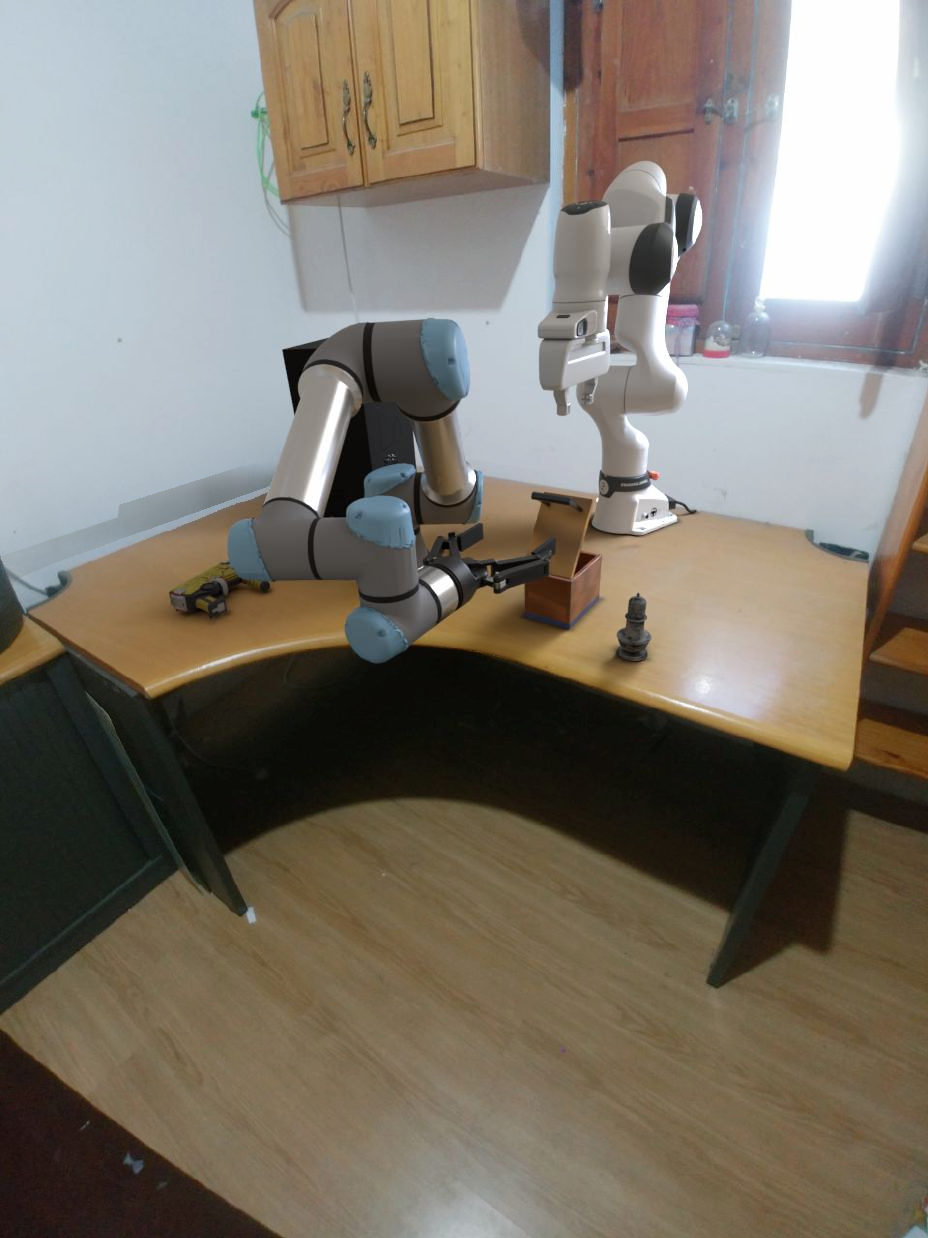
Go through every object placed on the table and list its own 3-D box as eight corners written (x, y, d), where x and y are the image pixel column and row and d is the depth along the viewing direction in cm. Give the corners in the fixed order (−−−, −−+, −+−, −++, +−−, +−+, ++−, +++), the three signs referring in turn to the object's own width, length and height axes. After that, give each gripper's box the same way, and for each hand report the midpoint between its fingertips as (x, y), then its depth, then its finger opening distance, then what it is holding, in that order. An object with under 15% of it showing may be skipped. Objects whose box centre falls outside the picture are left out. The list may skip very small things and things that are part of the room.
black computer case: (378, 519, 171) (356, 347, 149) (313, 517, 176) (282, 349, 153) (417, 479, 203) (403, 331, 180) (361, 478, 207) (341, 334, 185)
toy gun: (291, 561, 141) (237, 550, 145) (223, 605, 121) (163, 591, 125) (293, 579, 143) (240, 568, 147) (226, 625, 123) (167, 611, 127)
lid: (546, 493, 114) (529, 480, 107) (594, 500, 109) (579, 488, 102) (525, 568, 115) (507, 561, 108) (572, 579, 110) (556, 572, 103)
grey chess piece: (650, 663, 103) (658, 601, 97) (615, 660, 105) (620, 600, 99) (648, 644, 108) (655, 585, 102) (614, 642, 110) (620, 583, 104)
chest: (556, 588, 129) (557, 545, 124) (599, 599, 124) (602, 554, 119) (524, 616, 120) (524, 570, 115) (569, 629, 115) (571, 582, 110)
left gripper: (375, 593, 92) (455, 544, 107) (516, 636, 79) (585, 574, 94) (368, 548, 88) (452, 504, 103) (516, 585, 75) (588, 529, 90)
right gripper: (588, 315, 107) (584, 397, 114) (531, 327, 92) (531, 419, 99) (622, 315, 104) (615, 399, 110) (569, 327, 89) (566, 423, 96)
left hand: (516, 537), depth 98 cm, fingers open, 13 cm apart
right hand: (575, 409), depth 105 cm, fingers open, 8 cm apart
